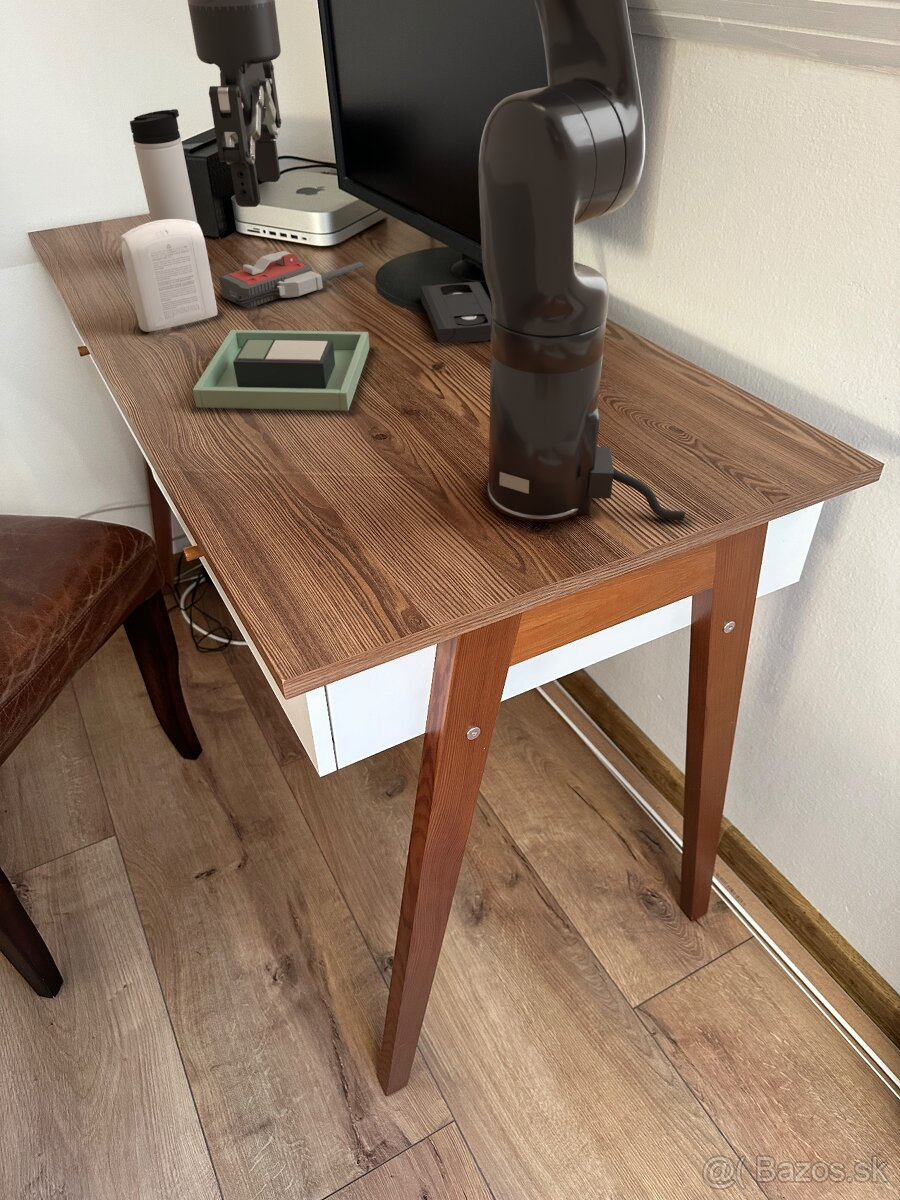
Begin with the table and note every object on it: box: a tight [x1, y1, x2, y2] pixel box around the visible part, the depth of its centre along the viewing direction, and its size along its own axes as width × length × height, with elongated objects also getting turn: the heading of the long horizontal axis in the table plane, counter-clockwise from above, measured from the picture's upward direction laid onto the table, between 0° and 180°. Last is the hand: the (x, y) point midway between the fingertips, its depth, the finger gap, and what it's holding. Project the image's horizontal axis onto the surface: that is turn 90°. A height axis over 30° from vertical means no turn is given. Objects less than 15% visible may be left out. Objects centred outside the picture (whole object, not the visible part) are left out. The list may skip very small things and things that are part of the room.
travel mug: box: [129, 108, 199, 224], centre depth 124 cm, size 6×7×20 cm
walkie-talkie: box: [218, 250, 364, 307], centre depth 121 cm, size 9×4×20 cm
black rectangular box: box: [233, 339, 335, 388], centre depth 100 cm, size 10×6×3 cm, turn 86°
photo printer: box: [120, 219, 219, 333], centre depth 110 cm, size 10×4×12 cm, turn 123°
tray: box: [192, 329, 370, 411], centre depth 100 cm, size 17×16×2 cm
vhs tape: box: [420, 281, 491, 344], centre depth 112 cm, size 14×8×2 cm, turn 10°
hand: (259, 192), depth 88 cm, fingers open, 8 cm apart
